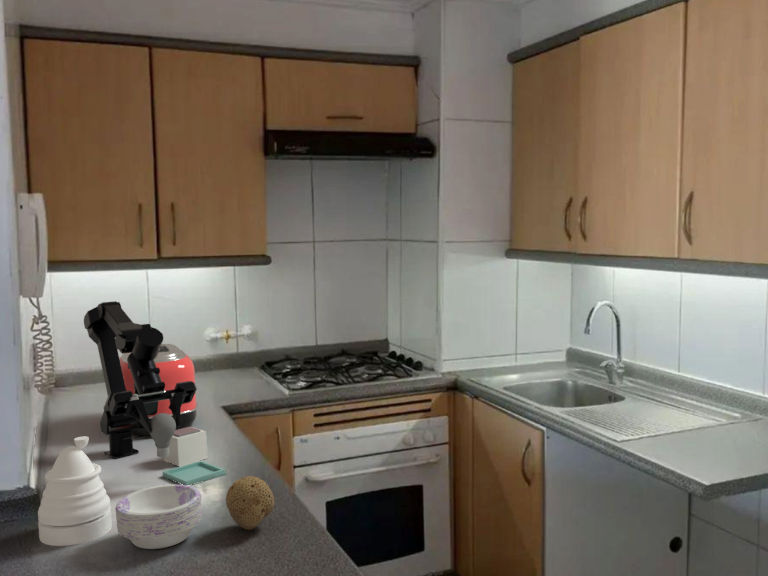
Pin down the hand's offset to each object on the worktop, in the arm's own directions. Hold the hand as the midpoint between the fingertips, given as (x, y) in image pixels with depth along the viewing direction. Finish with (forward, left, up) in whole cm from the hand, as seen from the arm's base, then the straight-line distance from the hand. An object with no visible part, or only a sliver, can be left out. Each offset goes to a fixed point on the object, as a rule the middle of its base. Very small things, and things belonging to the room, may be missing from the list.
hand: (164, 429), depth 161 cm
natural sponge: (+33, -1, -13) cm, 36 cm away
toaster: (-50, +25, -13) cm, 58 cm away
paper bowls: (+24, -15, -13) cm, 32 cm away
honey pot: (+8, -24, -13) cm, 29 cm away
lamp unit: (-14, +13, -13) cm, 23 cm away
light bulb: (-1, 0, -7) cm, 7 cm away
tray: (-2, +8, -13) cm, 16 cm away
